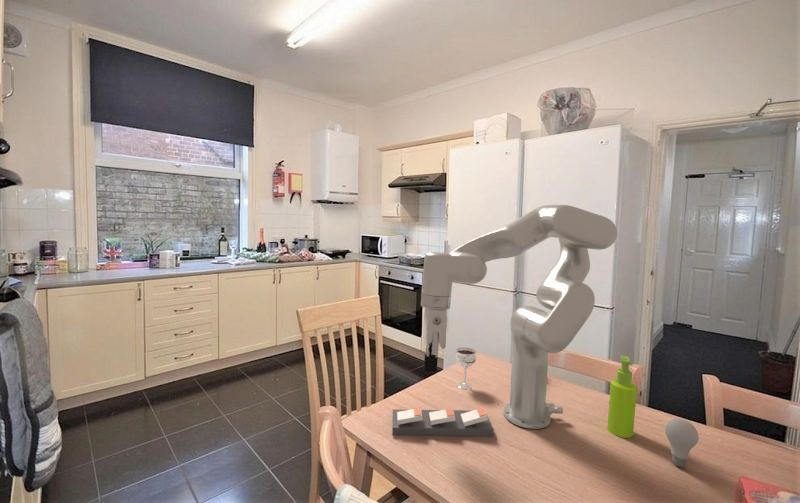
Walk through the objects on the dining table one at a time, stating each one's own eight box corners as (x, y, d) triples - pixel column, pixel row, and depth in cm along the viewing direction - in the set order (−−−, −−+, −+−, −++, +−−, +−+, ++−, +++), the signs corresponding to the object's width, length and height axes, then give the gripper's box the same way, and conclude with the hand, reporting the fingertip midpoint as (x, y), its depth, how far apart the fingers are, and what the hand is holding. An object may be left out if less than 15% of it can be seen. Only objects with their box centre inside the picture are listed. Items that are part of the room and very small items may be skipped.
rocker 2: (484, 411, 99) (483, 406, 98) (488, 419, 95) (486, 414, 94) (461, 418, 99) (460, 413, 99) (464, 426, 95) (463, 421, 95)
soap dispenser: (630, 426, 100) (636, 355, 98) (634, 440, 94) (640, 364, 92) (606, 421, 103) (611, 352, 101) (608, 434, 96) (614, 360, 95)
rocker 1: (421, 411, 98) (420, 406, 98) (422, 420, 94) (421, 414, 94) (398, 416, 98) (397, 411, 98) (398, 424, 94) (397, 419, 94)
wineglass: (452, 381, 126) (453, 347, 125) (471, 381, 126) (472, 347, 125) (457, 390, 119) (458, 355, 118) (477, 390, 120) (479, 354, 119)
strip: (484, 417, 103) (485, 408, 103) (493, 436, 94) (493, 426, 94) (392, 416, 103) (392, 407, 103) (392, 435, 94) (392, 425, 94)
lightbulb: (684, 478, 80) (689, 430, 79) (656, 460, 86) (660, 416, 85) (701, 470, 83) (706, 424, 82) (672, 454, 88) (676, 411, 87)
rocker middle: (453, 412, 98) (452, 407, 98) (455, 420, 94) (454, 415, 94) (429, 416, 98) (428, 411, 98) (431, 425, 95) (430, 420, 94)
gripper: (455, 308, 86) (449, 384, 88) (445, 295, 101) (440, 360, 102) (423, 306, 86) (417, 382, 87) (418, 294, 101) (413, 358, 102)
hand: (430, 370), depth 95 cm, fingers closed
